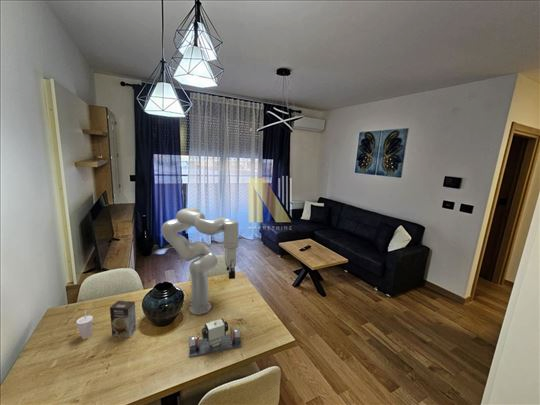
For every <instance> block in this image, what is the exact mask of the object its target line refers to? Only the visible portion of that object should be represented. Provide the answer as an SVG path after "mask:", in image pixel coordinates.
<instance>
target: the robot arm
mask: <svg viewBox="0 0 540 405" xmlns="http://www.w3.org/2000/svg"><path fill="white" fill-rule="evenodd" d="M192 227H194V228H195V229H196V230H197V232H198V233H200V234H203V235H207V236H214V235H218V234H221V233H223V248H224V264H225V267H226V271H228V279H229V280H232V279H233V280H235V279H236V266H237V248H239V222H238V221H237V220H234V219H229V218H227V217H223V216H221V217H218V218H215V219H211V220H208V219H207V220H206V217H205V214H204V213H203V212H201V210H200V209H199V208H198V207H196V206H192V207H191V206H190V207H186V208H182V209H179V211H177V213H176V215H175V218H173V219H172V218H171V219H170V220H167V221H165V222H163V224H162V226H161V234H162V236H163V238H164V239H165V241H167V242H168V243H169V244H170V245H171V246H172V247H173V249H174V250H176V252H177V253H178V254H179V256H180V257H181V258H182V259H183V260H184V262H190V264H189V266H188V268H189V269H188V270H189V275H190V280H191V297H190V298H189V300H188V302H190V306H189V312H190V313H191V314H192V315H196V316H200V315H205V314H207V313H208V312H210V311H211V309H212V304H211V302H209V291H210V290H209V278H208V277H207V273H208V272H209V271H212V270H214V269H215V268H216V267H217V266H218V259H217V258H218V257H216V255H215V254H214V253H213V251H212V250H211V248H210V247H208V245H207V244H206V243H205V242H203V241H201V240H197V241H194V242H190V241H189V240H188V239H187V238H186V237H185V236H184V235H181V234H179V233H180V232H183V231H184V232H185V231H187V230H189V229H191V228H192Z"/></svg>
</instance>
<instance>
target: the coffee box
mask: <svg viewBox="0 0 540 405" xmlns="http://www.w3.org/2000/svg"><path fill="white" fill-rule="evenodd" d="M109 314H110V325H111V327H110V328H111V337H112V336H120V337H119V338H127V337H130V336H131V337H132V336H133V334H134V333H135V332H136V331H137V320H136V318H137V317H136V301H129V300H117V301H116V302H115V303H113V304H112V305H111V306H110V307H109ZM135 330H136V331H135ZM134 331H135V332H134ZM131 337H130V338H131Z"/></svg>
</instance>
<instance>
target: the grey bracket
mask: <svg viewBox="0 0 540 405" xmlns="http://www.w3.org/2000/svg"><path fill="white" fill-rule="evenodd" d="M241 331H242V330H241V328H233V327H232V326H231V327H230V329H229V334H227V333H226V336H223V337H221V342H219V343H220V345H218V346H215V347H212V345H211V346H210V343H209V342H207V340H206V338H205V339H203V338H201V339H200V332H197V334H196V335H193V336H191V335H190V336H189V337H188V348H189V350H188V352H189V353H188V358H190V359H191V358H194V357H199V356H204V355H209V354H213V353H214V354H215V353H219V352H224V351H225V352H226V351H230V350H234V349H241V348H242V340H241V338H242V332H241Z"/></svg>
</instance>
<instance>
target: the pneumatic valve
mask: <svg viewBox="0 0 540 405" xmlns="http://www.w3.org/2000/svg"><path fill="white" fill-rule="evenodd" d="M228 331H229V324H228V321H225V320H224V318H220V319H216V320H215V319H214V320H211V321H210V322H207V323H204V326H203V328H201V336H202V339H205V338H206V340H207V342H209V343H210V346H211V345H212V347H215V346H218V345H220V343H219V342H221V337H223V336H226V335H227V332H228Z"/></svg>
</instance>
